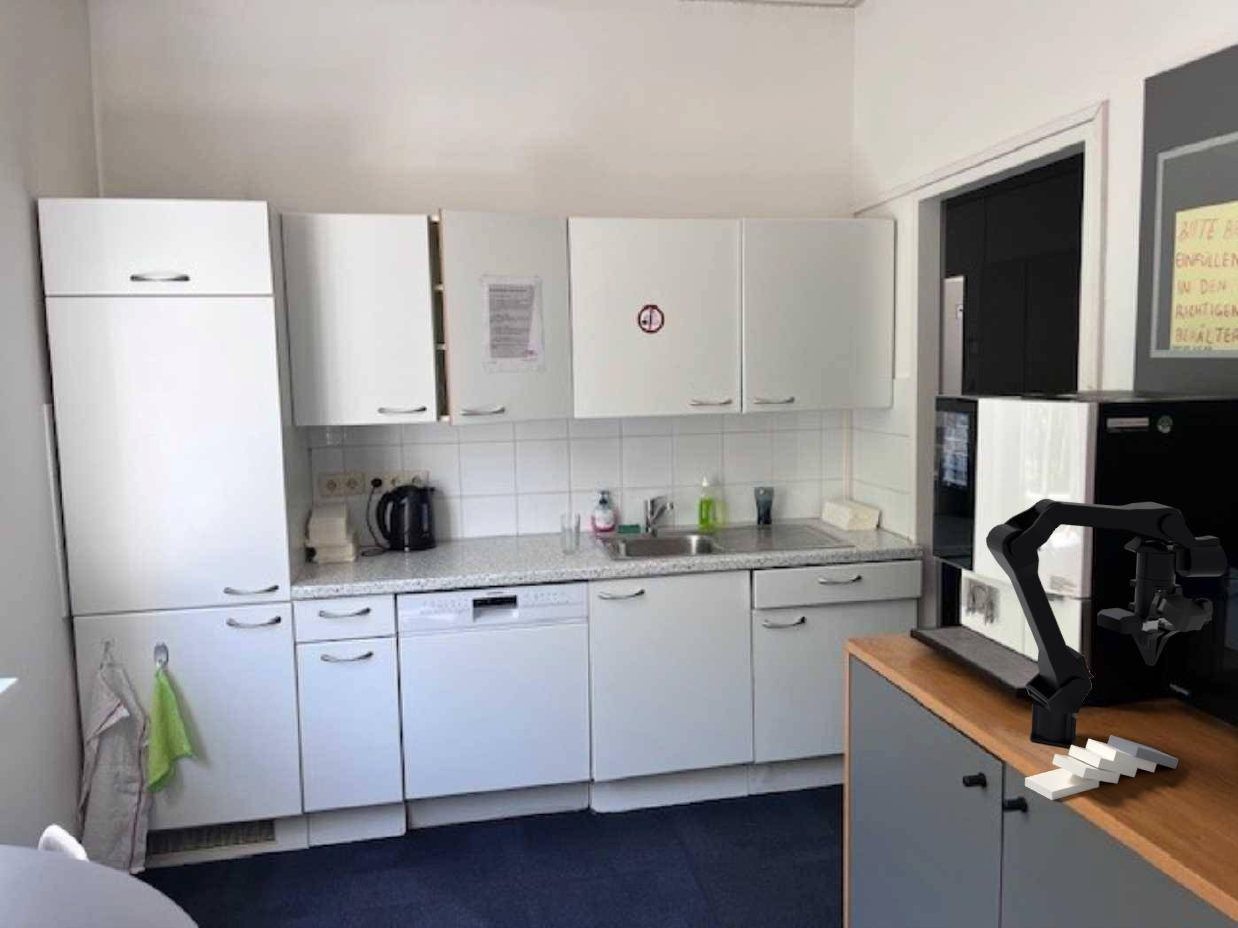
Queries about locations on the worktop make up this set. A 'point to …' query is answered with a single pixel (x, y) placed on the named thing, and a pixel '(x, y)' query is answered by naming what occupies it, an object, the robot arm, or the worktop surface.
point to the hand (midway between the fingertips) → (1150, 664)
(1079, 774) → the domino
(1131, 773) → the domino
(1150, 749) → the domino
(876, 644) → the worktop surface
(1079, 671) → the robot arm
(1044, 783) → the domino
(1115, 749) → the domino
